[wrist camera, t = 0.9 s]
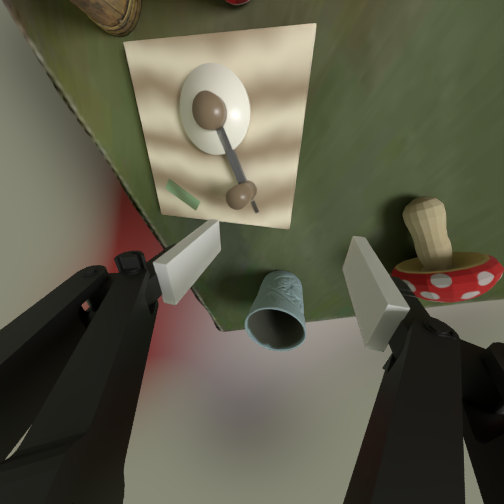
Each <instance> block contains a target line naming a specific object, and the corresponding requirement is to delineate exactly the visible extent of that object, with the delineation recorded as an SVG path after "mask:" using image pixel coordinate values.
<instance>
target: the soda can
mask: <svg viewBox="0 0 504 504" xmlns="http://www.w3.org/2000/svg"><path fill="white" fill-rule="evenodd" d="M225 1H226V2H228V3H230V4H232V5H242V4H245V3H247V2H249V1H250V0H225Z"/></svg>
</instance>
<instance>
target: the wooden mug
mask: <svg viewBox="0 0 504 504" xmlns="http://www.w3.org/2000/svg"><path fill="white" fill-rule="evenodd" d="M69 1H70V2H72V3H73V4H74V5H75V6H77V7H78V8H79V9H81V10H82V11H83V12H85V13H86V14H87V15H88V17H89V18H90V19H91V20H92V21H94V22H95V23H96V24H97V25H98V26H100V27H101V28H102V29H103V30H104V31H105V32H106V33H109V34H111V35H113V36H119V37H122V36H125V35H128V34H129V33H130V32H131V31H132V30H133V29H134V27H135V26H136V24H137V22H138V19H139V15H140V11H141V0H69Z"/></svg>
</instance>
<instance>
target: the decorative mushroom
mask: <svg viewBox="0 0 504 504" xmlns="http://www.w3.org/2000/svg"><path fill="white" fill-rule="evenodd" d="M402 215H403V219H404V223H405V224H406V226H407V228H408V230H409V232H410V234H411V235H412V238H413V241H414V245H415V250H416V253H417V256H418V257H416V258H413V259H409V260H406V261H403V262H401V263H399V264H397V265H396V266H395V267H394V269H393V271H392V274H391V276H394V277H399V278H400V279H401V280H402V281H404V282H405V283H406V284H407V285H408V286H409V288H410V289H411V290H412V292H413V293H414V294H415V296H416V297H419V298H422V299H425V300H429V301H436V302H458V301H464V300H468V299H471V298H475V297H478V296H480V295H481V294H483V293H485V292H487V291H488V290H489V289H490V288H492V287H493V286H494V285H495V284H496V282H497V281H498V280H499V279H500V278H501V277H502V274H503V271H504V268H503V267H502V266H501V264H500V263H499V262H498V261H497V259H496V258H494V257H492V256H489V255H486V254H481V253H475V252H453V253H452V248H451V243H450V240H449V238H448V236H447V230H446V211H445V208H444V205H443V203H442V202H441V201H439V200H438V199H436V198H433V197H426V196H423V197H419V198H416V199H413V200H412V201H411V202H410V203H409V204H408V205H407V206H405V209H404V211H403V214H402Z"/></svg>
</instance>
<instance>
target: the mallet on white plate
mask: <svg viewBox="0 0 504 504" xmlns="http://www.w3.org/2000/svg"><path fill="white" fill-rule="evenodd" d="M180 116H181V120H182V124H183V127H184V129H185V131H186V133H187V135H188V137H189V138H190V140H191V141H192V142H193V143H194V144H195V145H196V146H197V147H198V148H199V149H201V150H202V151H204V152H206V153H209V154H213V155H221V154H226V155H227V158H228V160H229V163H230V165H231V167H232V170H233V172H234V174H235V177H236V179H237V181H238V185H236V186H234V187H232V188H231V189H229V190H228V191H227V193H226V202H227V204H228V206H229V207H230V208H232V209H234V210H240V209H242V208H244V207H245V206H246V205H247V204H248V203H249V202H250V201H251V200H253V199H254V197H255V195H256V193H257V188H256V185H255V184H254V183H253V182H252V181H249V180H246V177H245V175H244V172H243V170H242V167H241V165H240V162H239V160H238V157H237V155H236V152H235V149H236V148H238V147H239V146H240V145H241V143H242V142H243V141H244V139H245V137H246V135H247V133H248V130H249V127H250V122H251V104H250V99H249V96H248V93H247V90H246V88H245V86H244V84H243V83H242V81H241V80H240V79H239V78H238V77H237V75H236V74H235V73H234V72H233V71H231V70H230V69H229V68H227V67H226V66H224V65H221V64H219V63H205V64H202V65H200V66H198V67H196V68H195V69H194V70H193V71H192V72H191V73H190V74H189V75H188V77H187V78H186V80H185V82H184V84H183V87H182V90H181V95H180Z"/></svg>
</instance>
